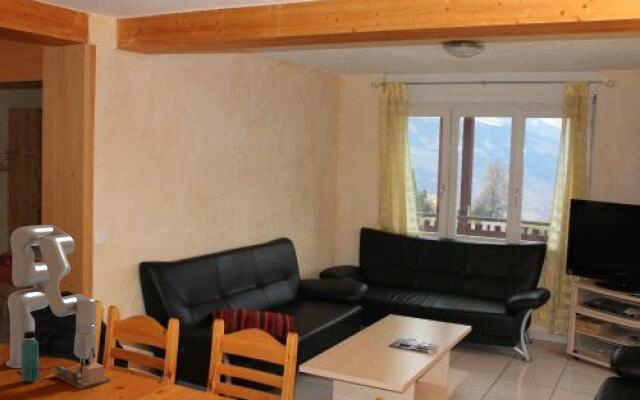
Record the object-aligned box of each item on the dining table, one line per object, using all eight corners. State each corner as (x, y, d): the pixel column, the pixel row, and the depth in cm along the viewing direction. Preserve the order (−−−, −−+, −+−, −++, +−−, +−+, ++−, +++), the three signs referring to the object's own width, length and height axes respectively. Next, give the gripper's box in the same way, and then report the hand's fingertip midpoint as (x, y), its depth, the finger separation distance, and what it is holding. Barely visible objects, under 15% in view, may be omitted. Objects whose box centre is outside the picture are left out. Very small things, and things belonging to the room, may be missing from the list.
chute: (56, 376, 270) (56, 366, 270) (86, 369, 280) (86, 360, 279) (79, 389, 256) (79, 378, 256) (110, 381, 266) (110, 371, 266)
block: (81, 380, 262) (81, 365, 262) (96, 377, 267) (96, 362, 266) (89, 384, 258) (89, 369, 258) (103, 381, 263) (103, 366, 262)
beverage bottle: (32, 385, 259) (32, 334, 258) (17, 383, 260) (17, 333, 259) (42, 380, 265) (42, 330, 264) (27, 378, 266) (27, 329, 265)
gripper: (68, 326, 268) (67, 371, 269) (86, 334, 258) (85, 381, 259) (85, 323, 273) (85, 367, 274) (104, 331, 263) (103, 376, 264)
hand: (85, 374), depth 267 cm, fingers closed
